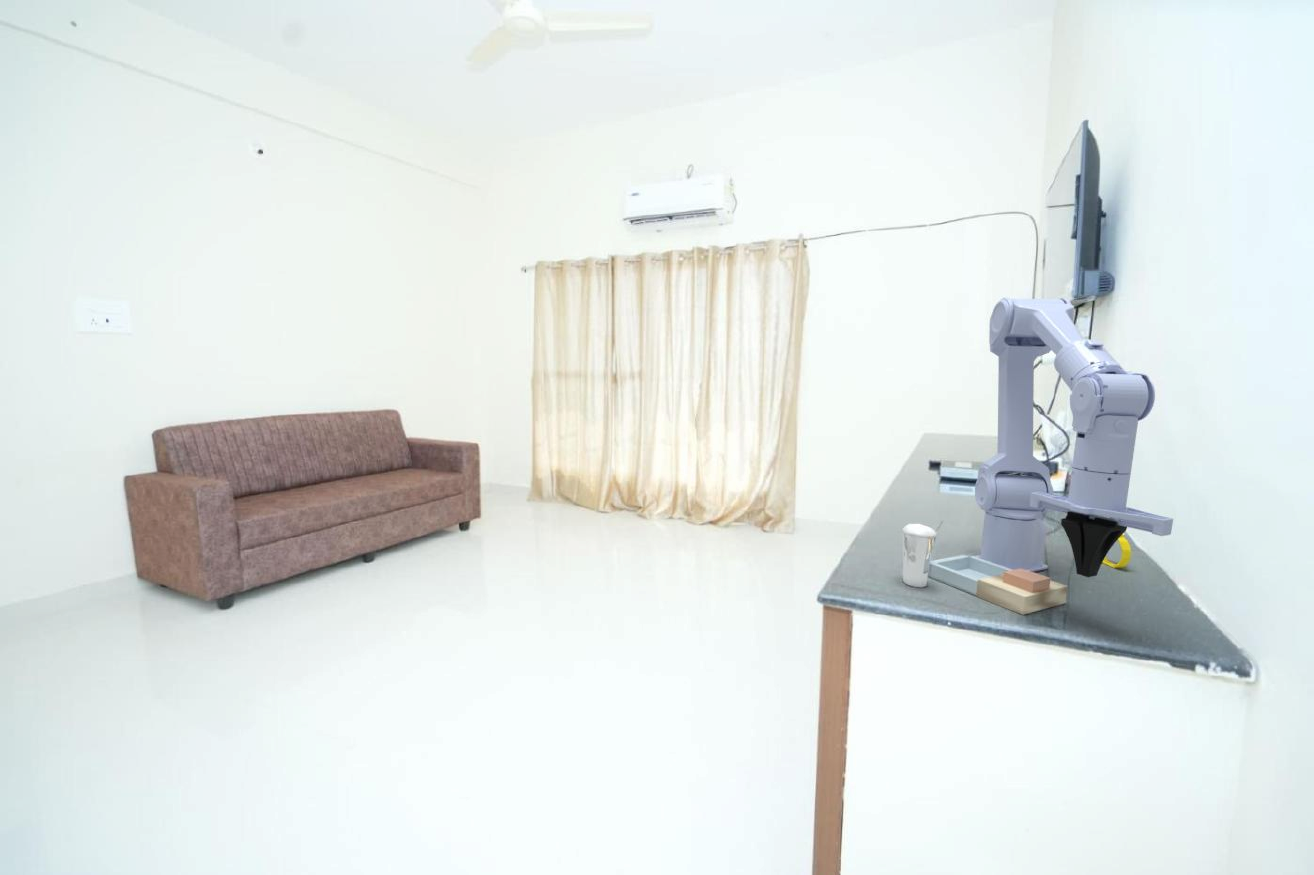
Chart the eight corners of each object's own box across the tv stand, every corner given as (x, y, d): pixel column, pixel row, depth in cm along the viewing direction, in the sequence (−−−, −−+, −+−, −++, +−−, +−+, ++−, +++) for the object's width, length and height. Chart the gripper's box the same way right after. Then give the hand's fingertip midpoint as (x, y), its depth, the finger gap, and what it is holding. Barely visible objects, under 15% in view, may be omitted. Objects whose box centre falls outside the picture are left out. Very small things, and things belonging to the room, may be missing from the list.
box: (966, 567, 90) (967, 554, 90) (1018, 586, 83) (1020, 572, 82) (924, 575, 86) (925, 561, 86) (976, 596, 78) (977, 581, 78)
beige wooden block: (1018, 586, 83) (1020, 570, 82) (1065, 603, 77) (1067, 586, 77) (976, 596, 78) (977, 579, 78) (1022, 614, 73) (1024, 597, 72)
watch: (1089, 560, 97) (1091, 527, 96) (1104, 561, 97) (1107, 528, 96) (1117, 570, 91) (1120, 535, 90) (1134, 571, 91) (1137, 536, 90)
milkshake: (941, 591, 80) (947, 525, 78) (902, 587, 81) (908, 522, 79) (932, 579, 84) (938, 517, 83) (895, 576, 85) (900, 514, 84)
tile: (1019, 578, 79) (1021, 568, 79) (1049, 588, 76) (1050, 578, 75) (1002, 582, 77) (1003, 572, 77) (1032, 592, 74) (1033, 582, 74)
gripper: (1021, 461, 73) (1010, 559, 74) (1157, 483, 60) (1140, 601, 61) (1052, 459, 76) (1040, 553, 77) (1188, 479, 63) (1170, 592, 65)
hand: (1086, 574), depth 70 cm, fingers closed
